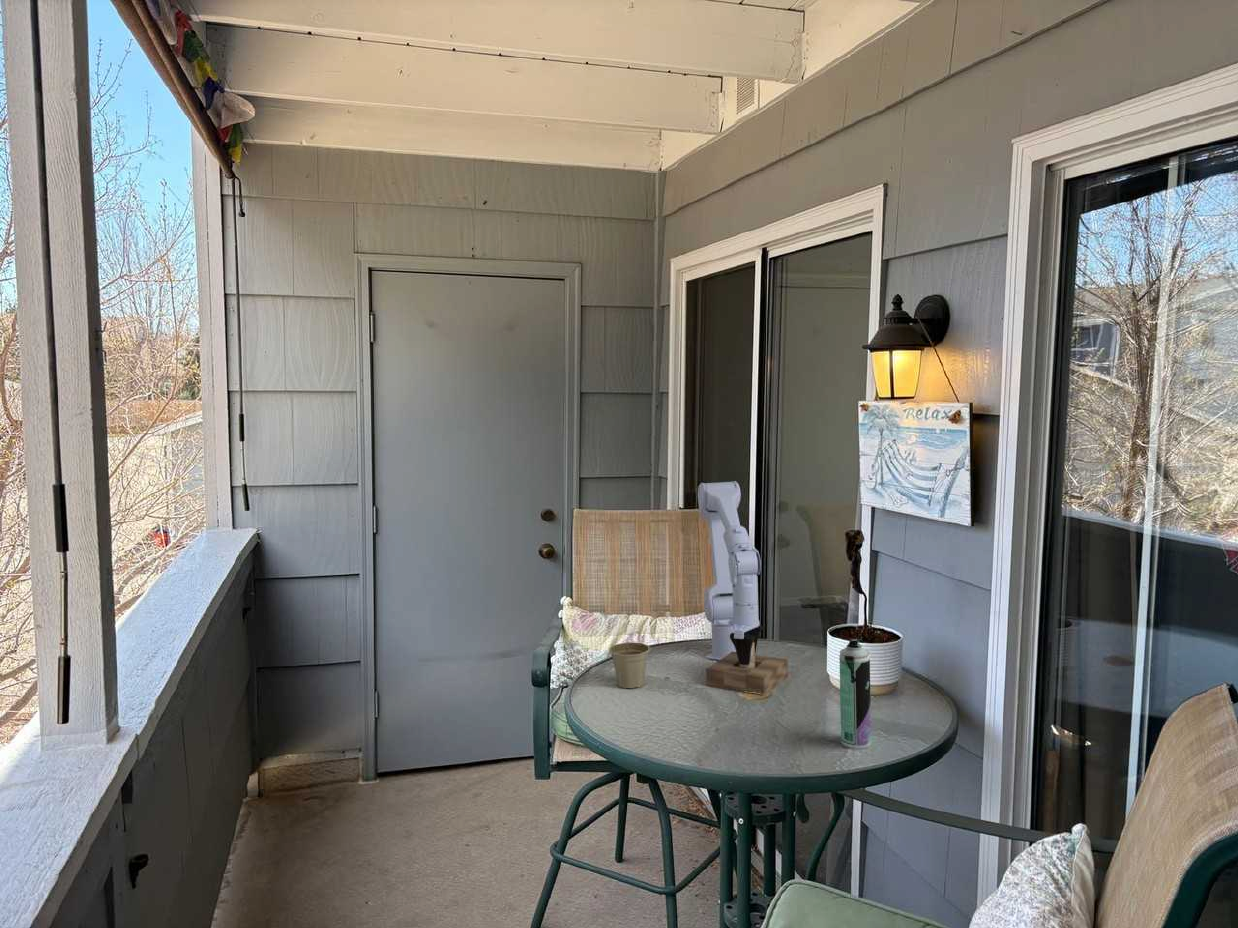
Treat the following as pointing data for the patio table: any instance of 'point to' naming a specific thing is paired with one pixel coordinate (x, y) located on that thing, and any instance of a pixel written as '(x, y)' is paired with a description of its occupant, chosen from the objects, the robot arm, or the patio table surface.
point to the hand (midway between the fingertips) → (747, 660)
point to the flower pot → (630, 663)
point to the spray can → (855, 696)
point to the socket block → (747, 674)
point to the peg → (752, 659)
